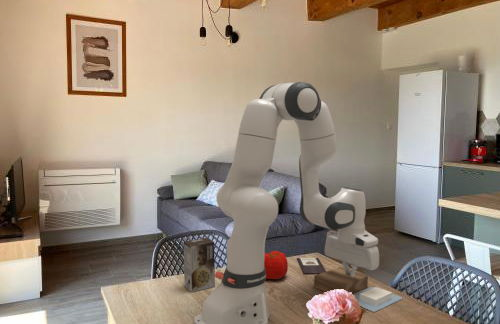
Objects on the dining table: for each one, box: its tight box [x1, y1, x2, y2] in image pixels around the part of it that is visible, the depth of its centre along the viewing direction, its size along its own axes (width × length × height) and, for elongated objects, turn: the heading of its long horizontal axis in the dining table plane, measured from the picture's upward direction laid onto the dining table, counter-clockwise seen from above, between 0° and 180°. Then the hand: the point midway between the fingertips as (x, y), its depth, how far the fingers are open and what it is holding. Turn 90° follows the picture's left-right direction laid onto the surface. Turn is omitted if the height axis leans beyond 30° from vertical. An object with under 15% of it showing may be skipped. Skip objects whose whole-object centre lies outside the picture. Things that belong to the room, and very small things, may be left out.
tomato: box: [264, 250, 289, 280], centre depth 155 cm, size 11×12×9 cm
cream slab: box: [359, 286, 393, 306], centre depth 135 cm, size 9×6×2 cm, turn 129°
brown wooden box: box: [313, 266, 369, 294], centre depth 146 cm, size 14×12×4 cm
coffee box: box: [183, 237, 216, 293], centre depth 145 cm, size 9×6×16 cm
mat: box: [353, 286, 404, 313], centre depth 136 cm, size 16×12×1 cm
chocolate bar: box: [296, 257, 327, 276], centre depth 167 cm, size 9×1×18 cm
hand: (349, 275), depth 142 cm, fingers closed
